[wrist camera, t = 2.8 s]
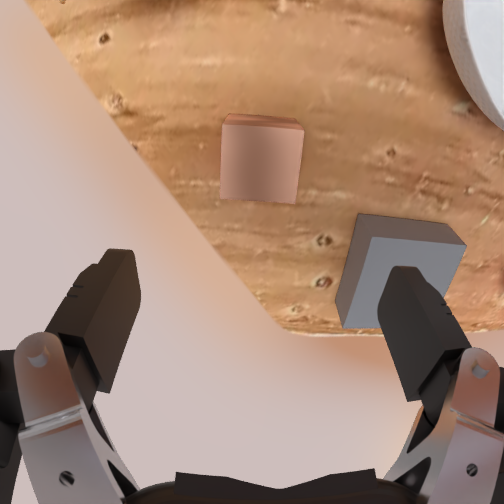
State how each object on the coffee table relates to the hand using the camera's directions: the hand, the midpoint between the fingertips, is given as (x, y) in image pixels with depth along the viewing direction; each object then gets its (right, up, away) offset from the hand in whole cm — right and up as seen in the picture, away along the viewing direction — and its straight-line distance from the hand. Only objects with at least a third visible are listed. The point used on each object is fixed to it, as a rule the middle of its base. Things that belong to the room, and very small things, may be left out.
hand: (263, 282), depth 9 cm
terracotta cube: (0, +9, +14) cm, 17 cm away
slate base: (+14, 0, +20) cm, 24 cm away
